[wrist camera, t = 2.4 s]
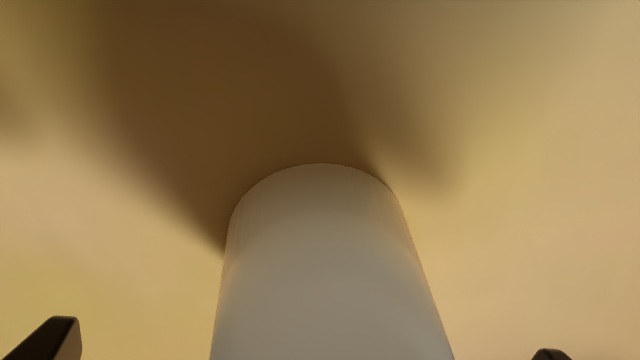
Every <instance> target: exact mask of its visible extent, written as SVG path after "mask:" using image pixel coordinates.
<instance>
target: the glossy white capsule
mask: <svg viewBox="0 0 640 360" xmlns="http://www.w3.org/2000/svg"><path fill="white" fill-rule="evenodd" d="M209 360H455V359H454V356H453V353H452V350H451V347H450V344H449V341H448V339H447V336H446V333H445V330H444V327H443V324H442V321H441V319H440V316H439V313H438V310H437V307H436V304H435V301H434V299H433V296H432V293H431V290H430V287H429V284H428V281H427V279H426V276H425V273H424V270H423V267H422V264H421V261H420V258H419V256H418V253H417V250H416V247H415V244H414V241H413V238H412V236H411V233H410V230H409V227H408V224H407V221H406V218H405V216H404V213H403V210H402V208H401V205H400V203H399V201H398V200H397V198H396V196H395V195H394V194H393V193H392V191H391V190H390V189H389V188H388V187H387V186H386V185H385V184H383V183H382V182H381V181H380V180H378V179H377V178H375V177H373V176H372V175H370V174H368V173H366V172H364V171H361V170H359V169H356V168H353V167H349V166H345V165H339V164H331V163H310V164H304V165H297V166H294V167H290V168H286V169H283V170H281V171H278V172H276V173H273V174H272V175H270V176H268V177H266V178H264V179H263V180H261V181H260V182H258V183H257V184H256V185H254V186H253V187H252V188H251V189H250V190H249V191H248V192H247V193H245V195H244V196H243V197H242V198H241V200H240V201H239V202H238V204H237V206H236V207H235V209H234V211H233V213H232V216H231V219H230V223H229V228H228V234H227V241H226V248H225V255H224V261H223V268H222V275H221V282H220V289H219V296H218V303H217V310H216V316H215V323H214V330H213V337H212V344H211V351H210V358H209Z"/></svg>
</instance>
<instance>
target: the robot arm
mask: <svg viewBox="0 0 640 360" xmlns="http://www.w3.org/2000/svg"><path fill="white" fill-rule="evenodd" d="M81 354H82V341H81V333H80V326H79V321H78V319H77V318H76V317H71V316H53V317H50V318H49V319H48V320H46V321H45V322H44V323H43V324H42V325H41V326H40V327H38V328H37V329H36V330H35V331H34V332H33V333H32V334H30V335H29V336H28V337H27V338H26V339H25V340H24V341H22V342H21V343H20V344H19V345H18V346H17V347H16V348H14V349H13V350H12V351H11V352H10V353H9V354H8V355H6V356H5V357H4V358H3V359H2V360H80V359H81ZM532 360H572V359H571V358H570V357H568V356H567V355H566V354H565V353H564V352H562V351H560V350H557V349H546V348H543V349H540V350H538V351H537V353H536V354H535V355H534V357H533V358H532Z"/></svg>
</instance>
